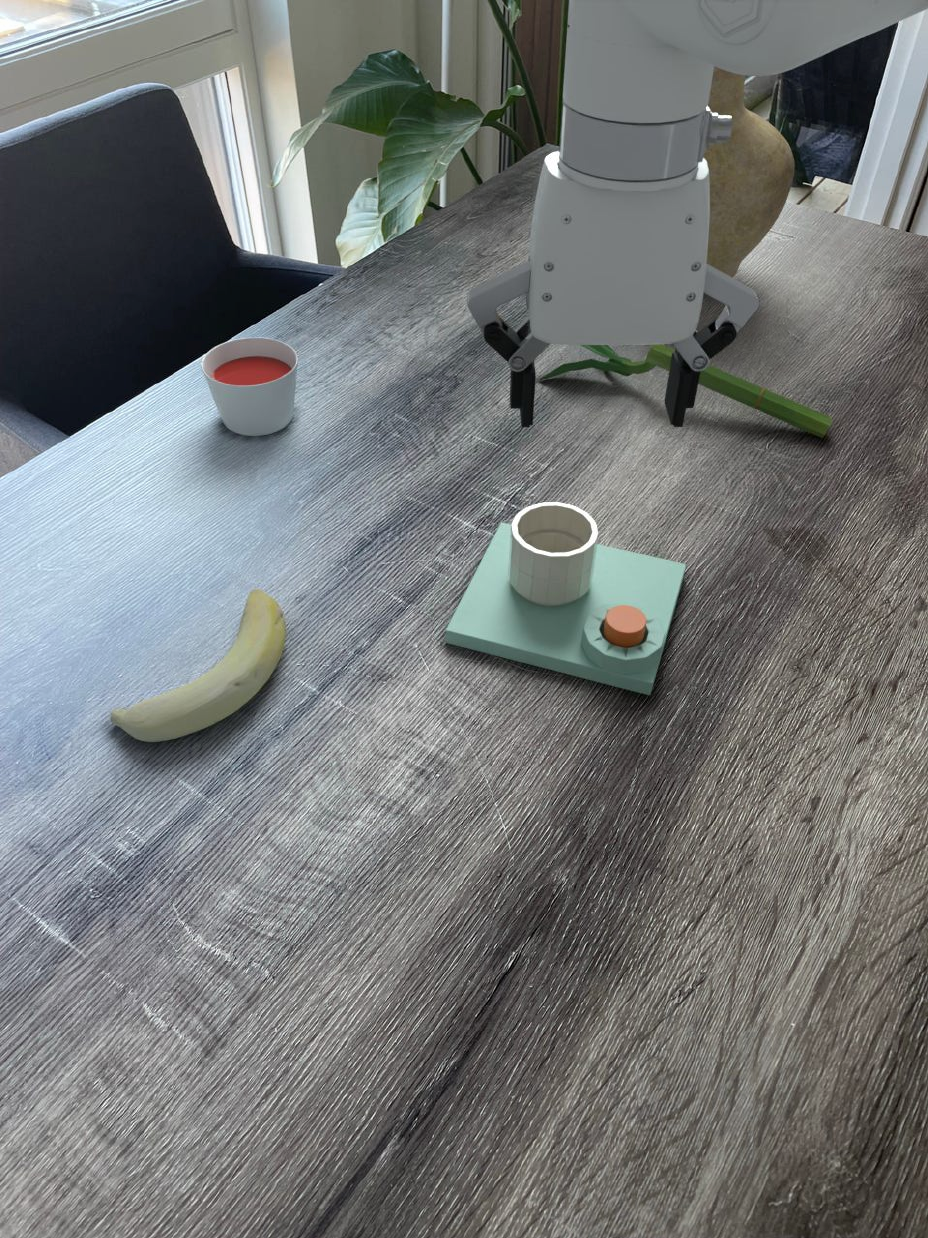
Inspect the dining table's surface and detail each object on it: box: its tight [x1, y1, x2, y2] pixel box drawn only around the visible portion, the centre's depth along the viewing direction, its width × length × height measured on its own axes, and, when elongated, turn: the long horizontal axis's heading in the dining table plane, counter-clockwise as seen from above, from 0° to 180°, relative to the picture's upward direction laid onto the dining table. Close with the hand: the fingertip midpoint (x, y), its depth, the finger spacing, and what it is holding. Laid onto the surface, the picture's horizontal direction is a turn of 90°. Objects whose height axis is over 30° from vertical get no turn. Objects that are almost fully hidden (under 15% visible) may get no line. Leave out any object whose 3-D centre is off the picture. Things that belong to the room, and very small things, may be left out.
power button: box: [603, 605, 647, 648], centre depth 74 cm, size 3×3×2 cm
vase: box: [703, 66, 796, 278], centre depth 112 cm, size 22×22×30 cm
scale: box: [445, 522, 687, 696], centre depth 79 cm, size 16×14×3 cm
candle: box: [200, 336, 299, 437], centre depth 97 cm, size 9×9×6 cm
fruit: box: [109, 588, 287, 743], centre depth 72 cm, size 7×15×3 cm, turn 144°
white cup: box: [508, 501, 600, 606], centre depth 78 cm, size 7×7×6 cm
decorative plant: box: [537, 344, 834, 439], centre depth 101 cm, size 6×8×30 cm
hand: (599, 415), depth 65 cm, fingers open, 9 cm apart
